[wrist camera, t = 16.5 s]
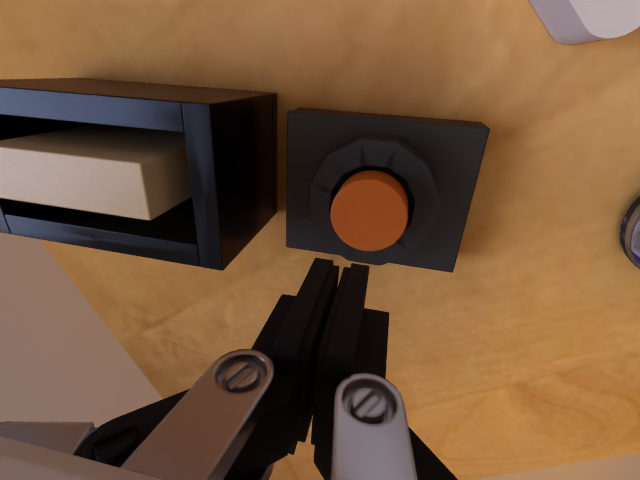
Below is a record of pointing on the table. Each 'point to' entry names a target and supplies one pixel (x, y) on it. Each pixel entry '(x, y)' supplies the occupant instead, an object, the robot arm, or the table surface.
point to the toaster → (203, 159)
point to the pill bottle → (632, 233)
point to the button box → (394, 159)
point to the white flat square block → (98, 170)
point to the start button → (370, 211)
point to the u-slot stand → (587, 19)
